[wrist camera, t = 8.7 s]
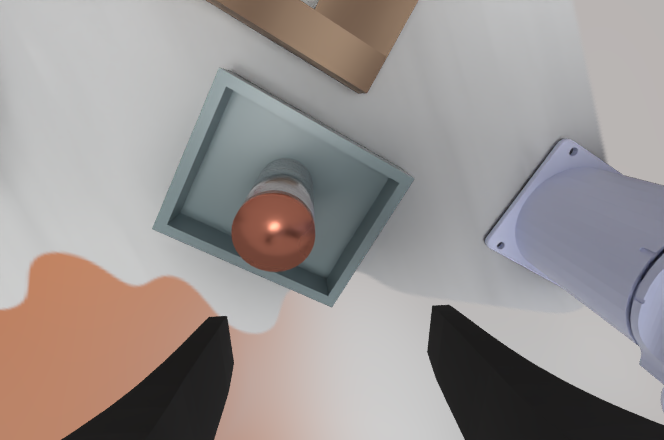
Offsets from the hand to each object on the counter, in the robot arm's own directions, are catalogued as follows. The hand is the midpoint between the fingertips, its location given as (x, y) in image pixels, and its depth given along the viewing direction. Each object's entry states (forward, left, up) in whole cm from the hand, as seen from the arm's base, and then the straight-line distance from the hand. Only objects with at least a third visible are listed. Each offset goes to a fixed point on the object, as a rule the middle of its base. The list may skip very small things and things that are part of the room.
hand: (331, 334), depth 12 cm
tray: (+3, -1, -10) cm, 11 cm away
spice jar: (+3, -2, -10) cm, 11 cm away
